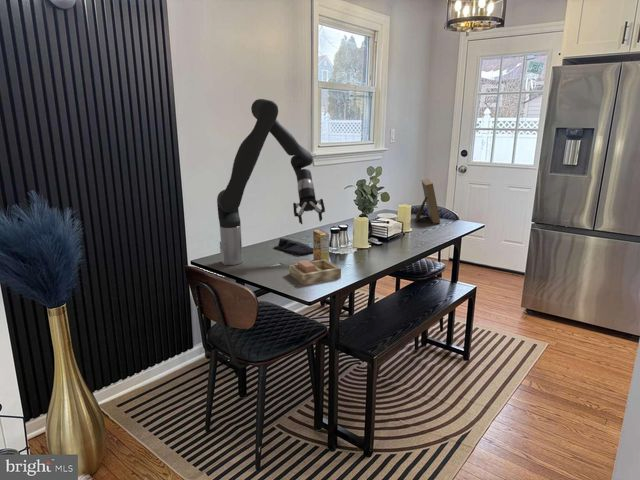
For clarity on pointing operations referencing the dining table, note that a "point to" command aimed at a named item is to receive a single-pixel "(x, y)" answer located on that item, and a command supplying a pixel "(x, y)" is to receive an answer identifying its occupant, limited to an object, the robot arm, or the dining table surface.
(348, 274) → the dining table surface
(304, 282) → the wooden compartment tray
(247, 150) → the robot arm
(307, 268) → the reddish brown block
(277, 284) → the dining table surface
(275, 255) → the dining table surface
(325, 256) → the candy box
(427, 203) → the photo frame
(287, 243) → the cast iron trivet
